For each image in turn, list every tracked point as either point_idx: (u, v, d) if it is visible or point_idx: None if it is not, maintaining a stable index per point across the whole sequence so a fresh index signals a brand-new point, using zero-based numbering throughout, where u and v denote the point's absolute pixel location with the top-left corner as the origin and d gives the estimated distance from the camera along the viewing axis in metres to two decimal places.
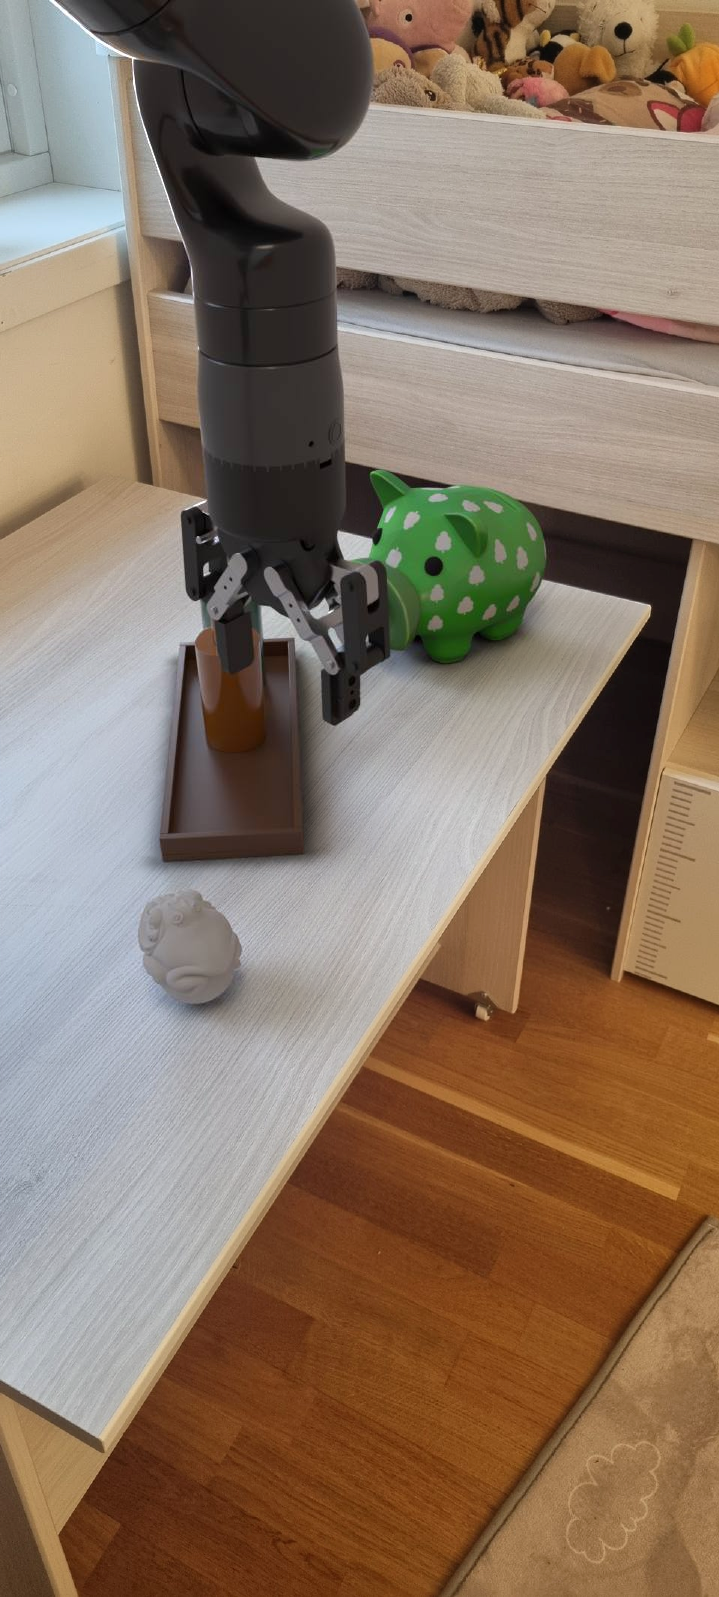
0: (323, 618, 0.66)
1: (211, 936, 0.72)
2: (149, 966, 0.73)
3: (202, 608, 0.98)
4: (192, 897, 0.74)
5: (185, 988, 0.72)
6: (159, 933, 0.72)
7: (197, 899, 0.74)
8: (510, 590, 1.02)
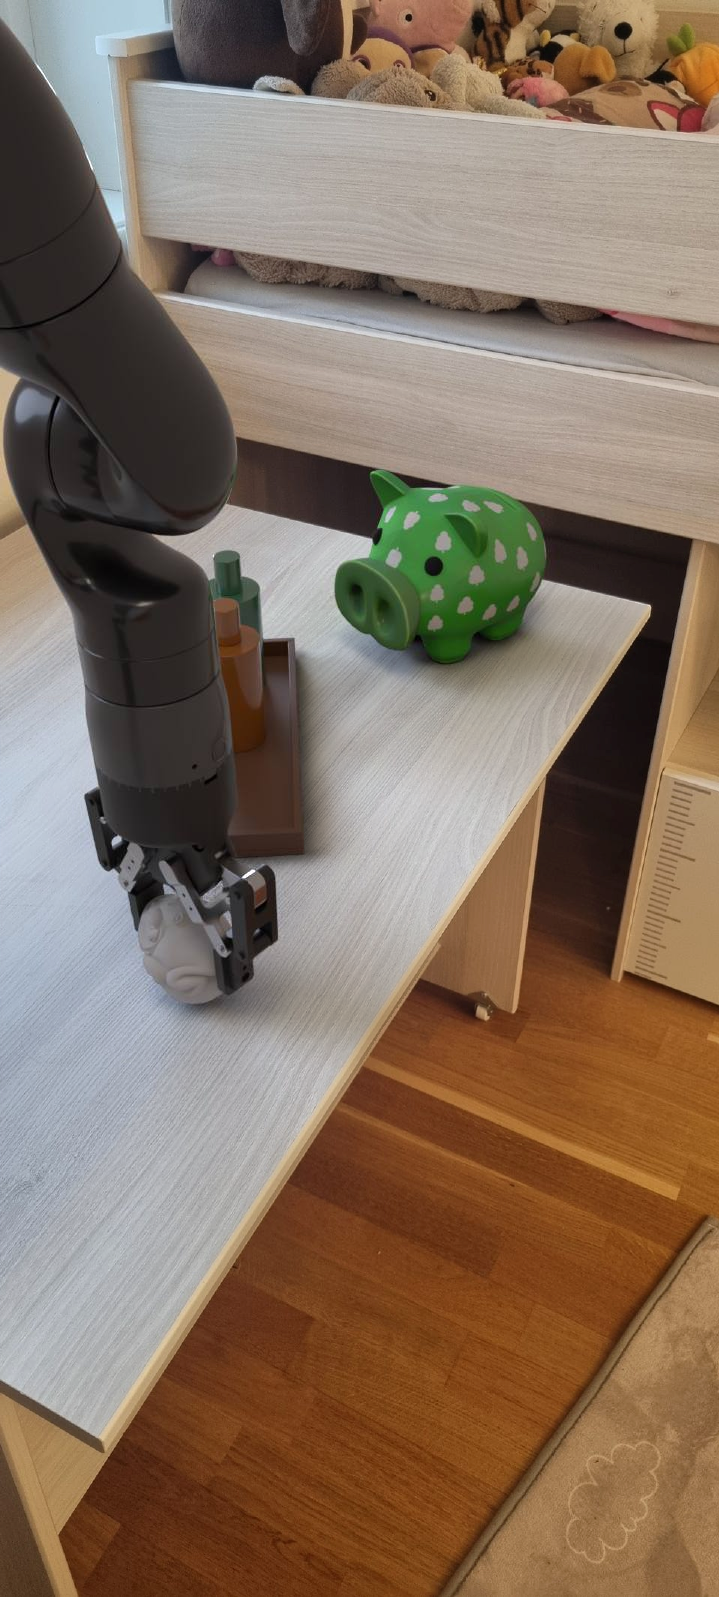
0: (215, 906, 0.68)
1: None
2: (149, 966, 0.73)
3: None
4: None
5: (185, 988, 0.72)
6: (159, 933, 0.72)
7: None
8: (510, 590, 1.02)
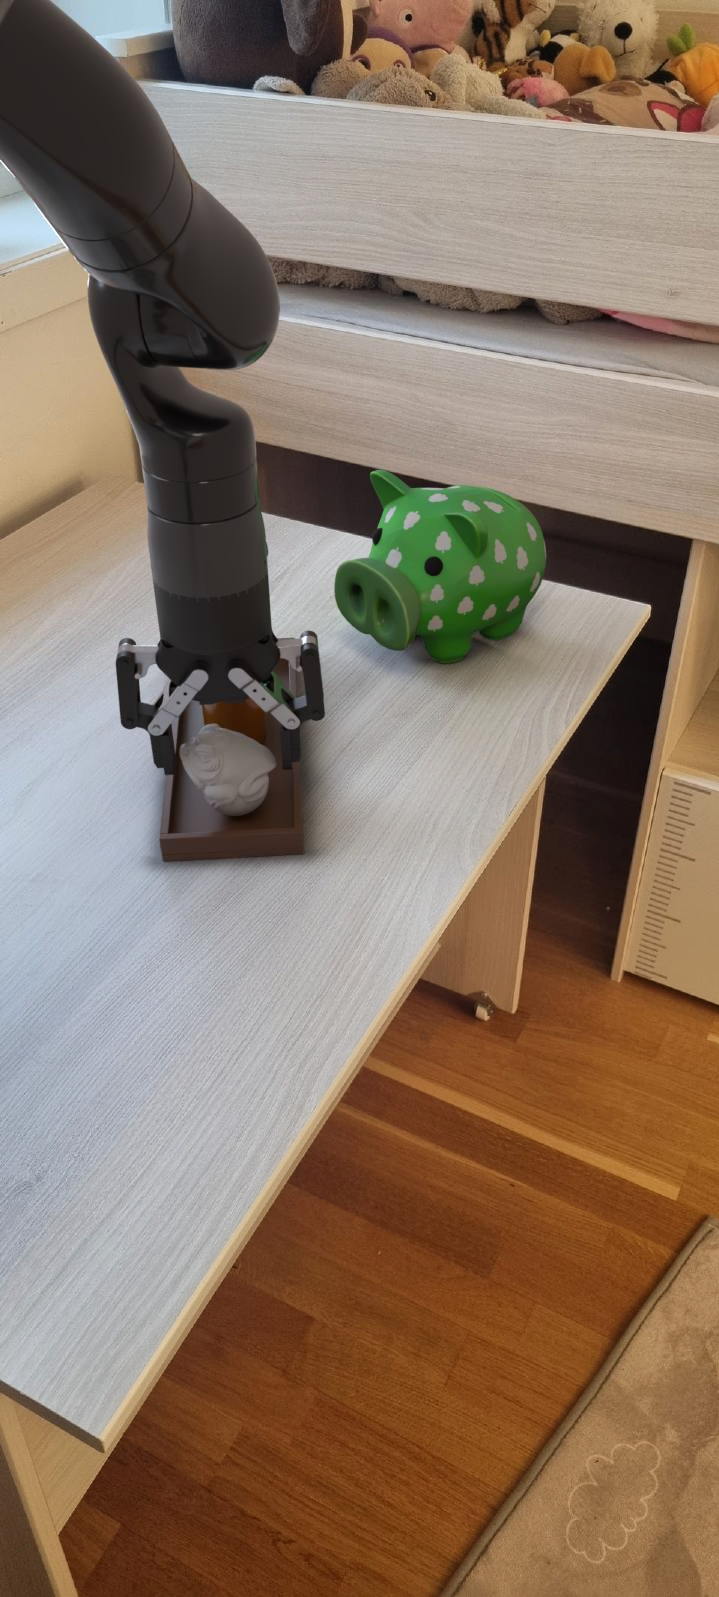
0: (275, 690, 0.83)
1: (252, 744, 0.87)
2: (221, 791, 0.85)
3: None
4: (216, 727, 0.87)
5: (258, 790, 0.86)
6: (219, 759, 0.85)
7: (219, 727, 0.87)
8: (510, 590, 1.02)
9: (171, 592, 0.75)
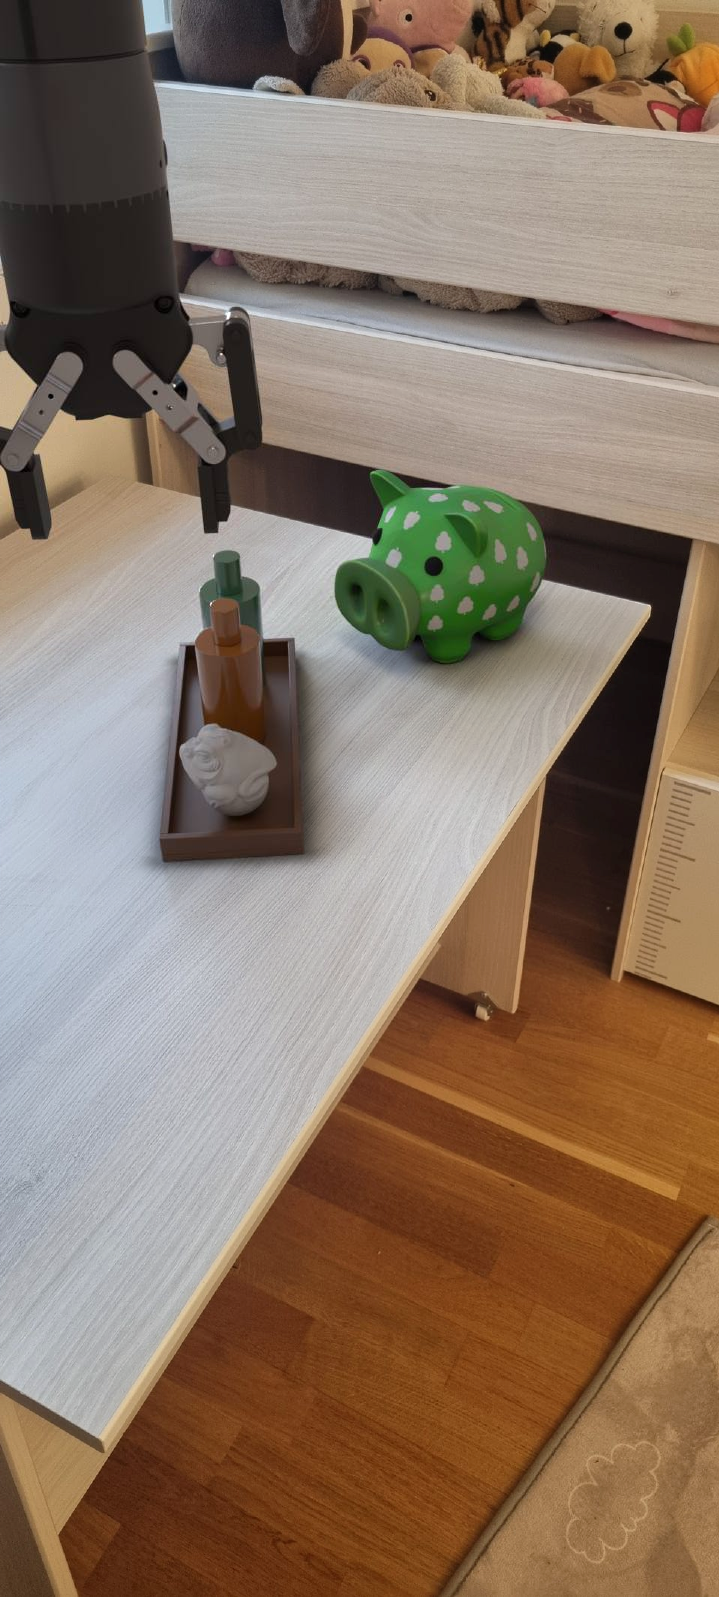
0: (188, 399, 0.56)
1: (252, 744, 0.87)
2: (221, 791, 0.85)
3: (202, 608, 0.98)
4: (216, 727, 0.87)
5: (258, 790, 0.86)
6: (219, 759, 0.85)
7: (219, 727, 0.87)
8: (510, 590, 1.02)
9: (11, 200, 0.48)
